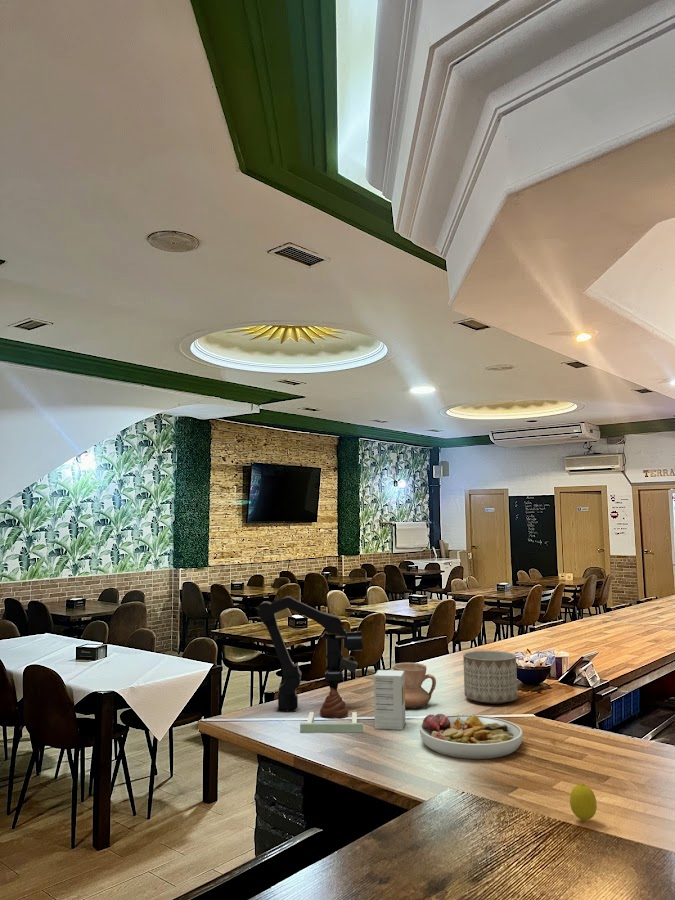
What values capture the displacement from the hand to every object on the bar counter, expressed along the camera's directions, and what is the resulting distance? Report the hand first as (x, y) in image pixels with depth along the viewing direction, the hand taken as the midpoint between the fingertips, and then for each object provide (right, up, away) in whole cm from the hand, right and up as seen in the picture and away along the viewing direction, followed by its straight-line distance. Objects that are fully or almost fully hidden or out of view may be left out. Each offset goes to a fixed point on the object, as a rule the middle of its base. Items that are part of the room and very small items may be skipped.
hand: (334, 695), depth 244 cm
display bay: (-1, -2, -21) cm, 21 cm away
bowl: (+41, 0, -43) cm, 59 cm away
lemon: (+55, +7, -96) cm, 111 cm away
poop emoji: (0, -4, -9) cm, 10 cm away
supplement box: (+18, -2, -22) cm, 29 cm away
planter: (+58, -5, +9) cm, 59 cm away
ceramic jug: (+28, -5, +3) cm, 29 cm away
